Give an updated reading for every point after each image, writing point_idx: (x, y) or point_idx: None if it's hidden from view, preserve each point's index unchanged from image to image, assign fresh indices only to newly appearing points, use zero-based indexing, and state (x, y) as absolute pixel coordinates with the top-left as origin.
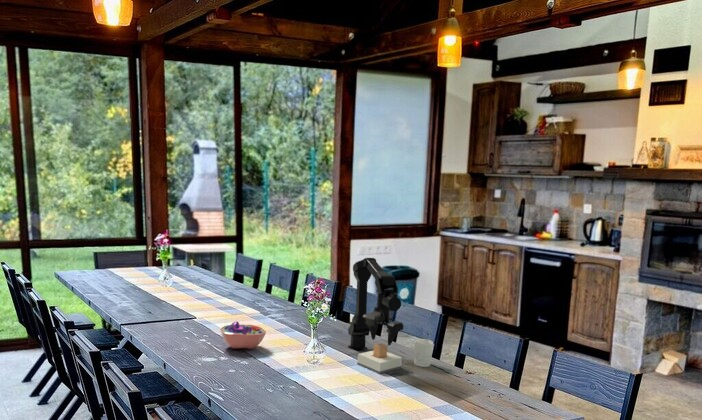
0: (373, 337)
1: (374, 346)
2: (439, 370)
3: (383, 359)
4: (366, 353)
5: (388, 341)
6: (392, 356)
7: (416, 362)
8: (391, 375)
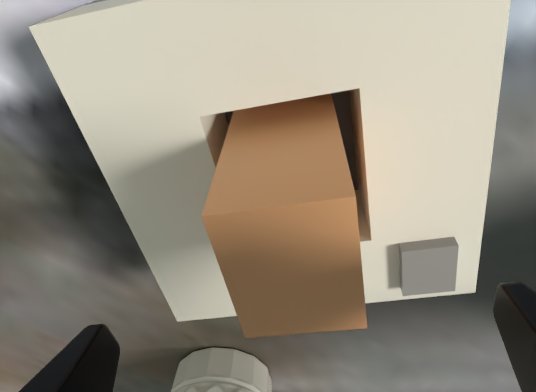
0: (516, 328)
1: (336, 184)
2: (114, 387)
3: (161, 148)
4: (450, 73)
5: (41, 386)
6: None
7: (213, 363)
8: (50, 98)
